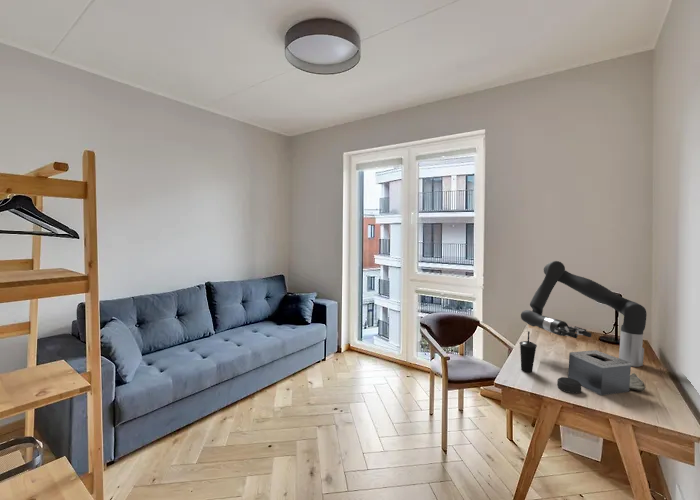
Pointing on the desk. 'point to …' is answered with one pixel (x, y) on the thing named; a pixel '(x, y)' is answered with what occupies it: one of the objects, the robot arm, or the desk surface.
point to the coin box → (599, 372)
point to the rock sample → (636, 383)
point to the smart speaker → (569, 385)
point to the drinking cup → (527, 355)
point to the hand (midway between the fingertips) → (584, 335)
